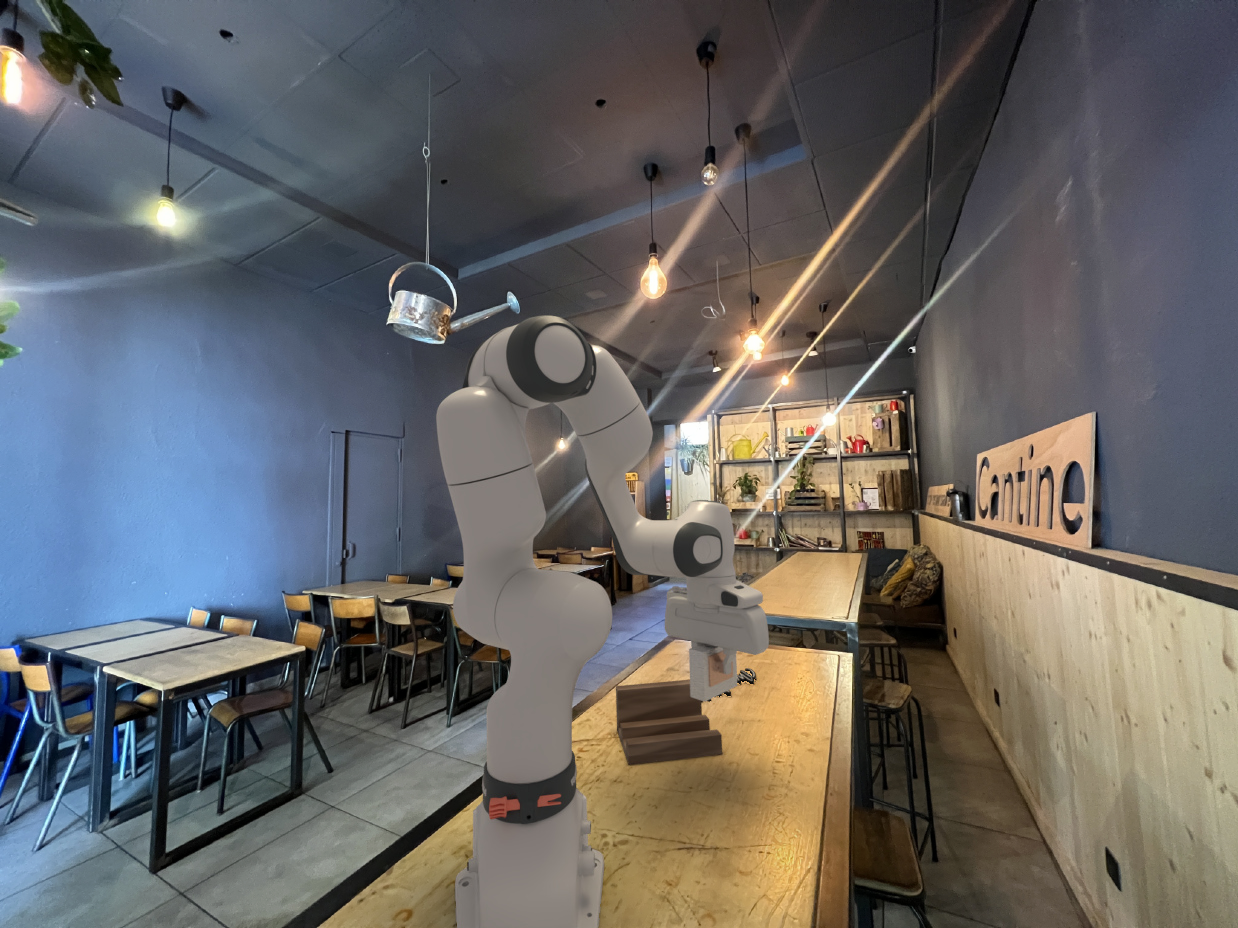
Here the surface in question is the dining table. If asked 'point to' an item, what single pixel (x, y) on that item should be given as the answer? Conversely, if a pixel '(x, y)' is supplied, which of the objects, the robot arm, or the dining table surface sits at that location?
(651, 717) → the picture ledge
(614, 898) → the dining table surface
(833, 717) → the dining table surface
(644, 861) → the dining table surface
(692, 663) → the light grey rectangular block
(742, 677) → the nameplate
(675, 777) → the dining table surface
